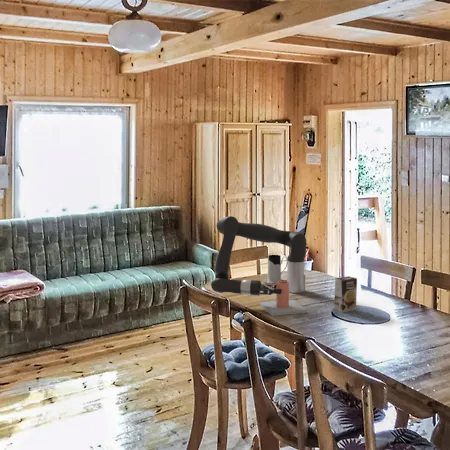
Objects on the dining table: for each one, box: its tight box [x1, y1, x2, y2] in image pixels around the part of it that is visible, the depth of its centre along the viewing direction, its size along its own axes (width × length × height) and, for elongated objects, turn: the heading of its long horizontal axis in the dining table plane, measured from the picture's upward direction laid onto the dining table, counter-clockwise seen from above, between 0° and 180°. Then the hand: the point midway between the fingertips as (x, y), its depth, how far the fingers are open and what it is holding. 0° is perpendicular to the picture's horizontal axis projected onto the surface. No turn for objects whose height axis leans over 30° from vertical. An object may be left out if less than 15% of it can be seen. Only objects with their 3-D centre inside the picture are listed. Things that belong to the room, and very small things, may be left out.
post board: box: [259, 299, 308, 317], centre depth 271 cm, size 18×18×13 cm
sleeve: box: [275, 280, 290, 308], centre depth 271 cm, size 6×6×12 cm
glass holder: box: [266, 254, 288, 283], centre depth 331 cm, size 9×14×15 cm, turn 120°
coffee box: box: [333, 276, 358, 313], centre depth 269 cm, size 9×6×16 cm
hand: (282, 289), depth 271 cm, fingers open, 8 cm apart
